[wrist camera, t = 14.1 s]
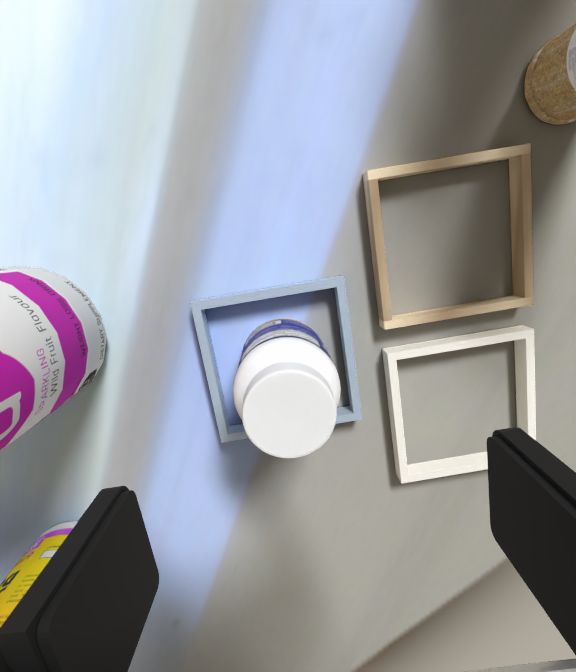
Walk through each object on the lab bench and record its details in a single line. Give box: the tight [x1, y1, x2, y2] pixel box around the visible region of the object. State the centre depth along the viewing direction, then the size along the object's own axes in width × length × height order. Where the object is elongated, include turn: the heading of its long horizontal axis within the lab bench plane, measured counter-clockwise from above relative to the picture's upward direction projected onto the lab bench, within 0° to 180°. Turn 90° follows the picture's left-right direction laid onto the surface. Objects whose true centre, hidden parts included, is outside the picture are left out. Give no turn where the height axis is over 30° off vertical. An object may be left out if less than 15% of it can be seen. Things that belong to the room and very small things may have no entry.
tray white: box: [382, 325, 536, 484], centre depth 25 cm, size 9×9×1 cm
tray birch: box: [363, 143, 534, 330], centre depth 23 cm, size 9×9×1 cm
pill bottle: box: [233, 318, 341, 458], centre depth 21 cm, size 5×5×9 cm
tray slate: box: [190, 275, 362, 443], centre depth 24 cm, size 9×9×1 cm
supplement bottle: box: [0, 521, 78, 627], centre depth 21 cm, size 7×7×13 cm
